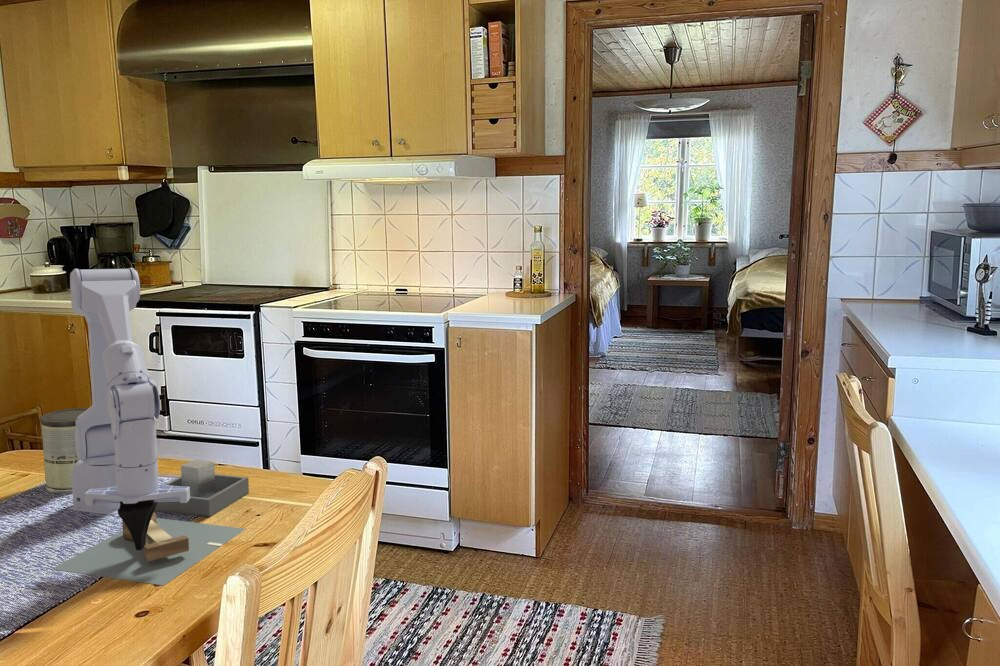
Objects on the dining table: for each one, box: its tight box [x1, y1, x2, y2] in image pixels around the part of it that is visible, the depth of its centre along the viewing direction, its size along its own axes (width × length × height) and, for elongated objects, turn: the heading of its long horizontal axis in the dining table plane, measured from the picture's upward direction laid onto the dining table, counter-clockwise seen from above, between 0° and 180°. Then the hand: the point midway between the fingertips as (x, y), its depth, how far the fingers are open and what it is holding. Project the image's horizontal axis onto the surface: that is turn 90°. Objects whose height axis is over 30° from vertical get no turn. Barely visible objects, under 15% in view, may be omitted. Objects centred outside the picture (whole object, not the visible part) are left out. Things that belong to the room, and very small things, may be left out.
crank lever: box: [121, 511, 189, 562], centre depth 121 cm, size 16×6×3 cm, turn 42°
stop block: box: [180, 459, 216, 498], centre depth 140 cm, size 4×4×7 cm
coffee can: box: [39, 407, 89, 494], centre depth 148 cm, size 10×10×14 cm
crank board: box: [51, 517, 246, 587], centre depth 120 cm, size 19×21×1 cm
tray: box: [154, 473, 250, 518], centre depth 140 cm, size 12×12×4 cm
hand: (140, 547), depth 117 cm, fingers closed
